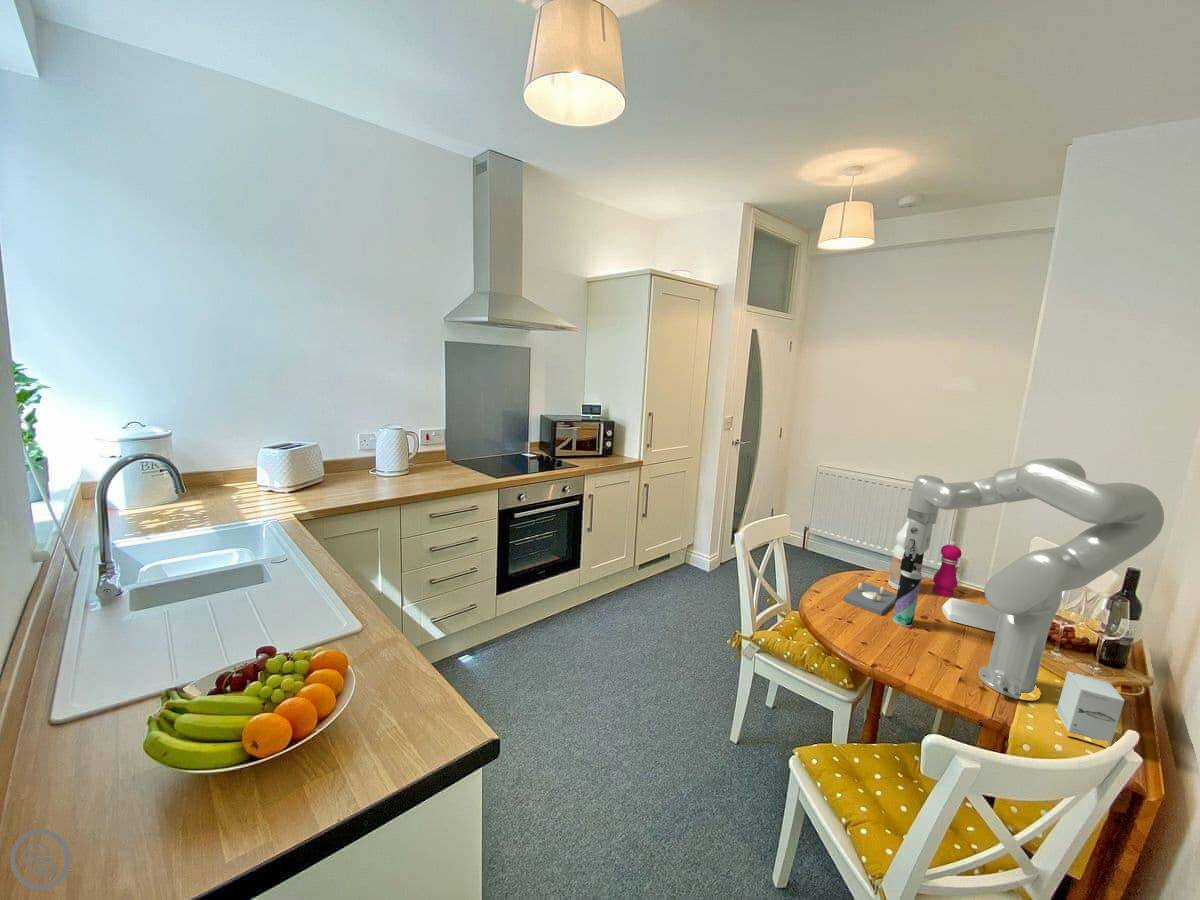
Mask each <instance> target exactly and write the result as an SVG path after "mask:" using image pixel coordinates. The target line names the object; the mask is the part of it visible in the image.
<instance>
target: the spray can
mask: <svg viewBox="0 0 1200 900" xmlns="http://www.w3.org/2000/svg"><path fill="white" fill-rule="evenodd" d="M922 575H923V574H922V571H921V572H919V571H918V569H917V568H916V565H914V567H913V572H912V573H909V572H906V571H903V570H902V571H901V576H900V581H899V587H898V590H897V593H896V594H897V597H896V602H894V610H893V615H892V622H893V623H894V624H896V625H898V626H900V627H904V628H911V627H913V623H914V620H915V619H914V618H915V613H916V609H917V603H918V598H919V592H920V588H921V582H922V578H923V577H922Z"/></svg>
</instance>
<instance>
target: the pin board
mask: <svg viewBox="0 0 1200 900" xmlns="http://www.w3.org/2000/svg"><path fill="white" fill-rule="evenodd" d="M896 597H897V593H895V592H893V591H889V590H887V589H886V588H885V586H883V585H881V586H880V587H878V586H876V585H873V584H870V583H867V582H864V581H862V582H858V585H857V586H855V587H854V588H853V589H852V590H850V591H849V592H848V593H846V594H845V595H844V596H843V598H842V601H843V602H845V603H848V604H851V605H853V606H856V607H857V608H860V609H862V610H863V609H864V610H866V611H869V612H871V613H874V614H876V615H878V614H879V616H882V615H883V614H884V613H886V611H887V610H888V609H890V608H891V606H892V605H894V604H895V603H896V602H895V601H896Z"/></svg>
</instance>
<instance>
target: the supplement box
mask: <svg viewBox="0 0 1200 900" xmlns="http://www.w3.org/2000/svg"><path fill="white" fill-rule="evenodd" d="M1124 704H1125V699H1124V698H1123V697H1122V695H1121V694H1120V693H1119V692H1118V690H1117V689H1116V688H1115V687H1114V686H1113V684H1111V682H1110V681H1106V680H1103V679H1099V678H1096V677H1095V678H1094V677H1093V676H1092V677H1091V676H1087V675H1083V674H1079V673H1076V672H1072V671H1068V670H1067V672H1066V676H1065V679H1064V682H1063V687H1062V689H1061V693H1060V697H1059V702H1058V704H1057V706H1056V707H1057V708H1056V711H1055V713H1056V712H1057V714H1058V716H1059V718H1060V719H1061V721H1062V723H1063V724H1064V726H1065V727H1066V729H1067V731H1068V732H1070V733H1073V734H1078V735H1082V736H1086V737H1089V738H1092V739H1096V740H1103V741H1105V740H1106V741H1109V742H1108V744H1109V745H1108V746H1110V747H1111V745H1112V742H1113V739H1114V736H1115V732H1116V729H1117V726H1118V722H1119V719H1120V717H1121V712H1122V710H1123V707H1124ZM1108 746H1106V747H1108ZM1106 747H1105V748H1104V749H1106Z"/></svg>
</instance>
